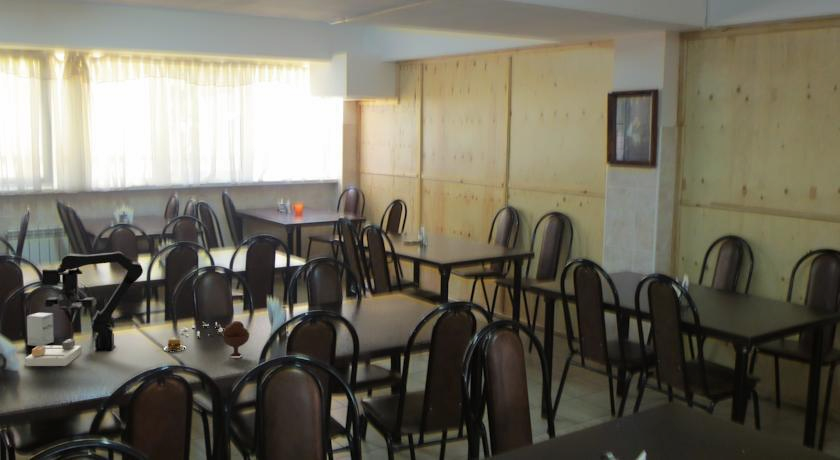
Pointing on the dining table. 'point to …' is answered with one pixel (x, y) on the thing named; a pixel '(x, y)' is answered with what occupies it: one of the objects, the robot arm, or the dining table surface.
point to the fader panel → (54, 356)
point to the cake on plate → (174, 344)
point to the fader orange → (38, 351)
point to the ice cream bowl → (235, 336)
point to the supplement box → (40, 329)
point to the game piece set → (198, 331)
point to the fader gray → (68, 344)
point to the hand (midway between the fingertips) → (71, 322)
